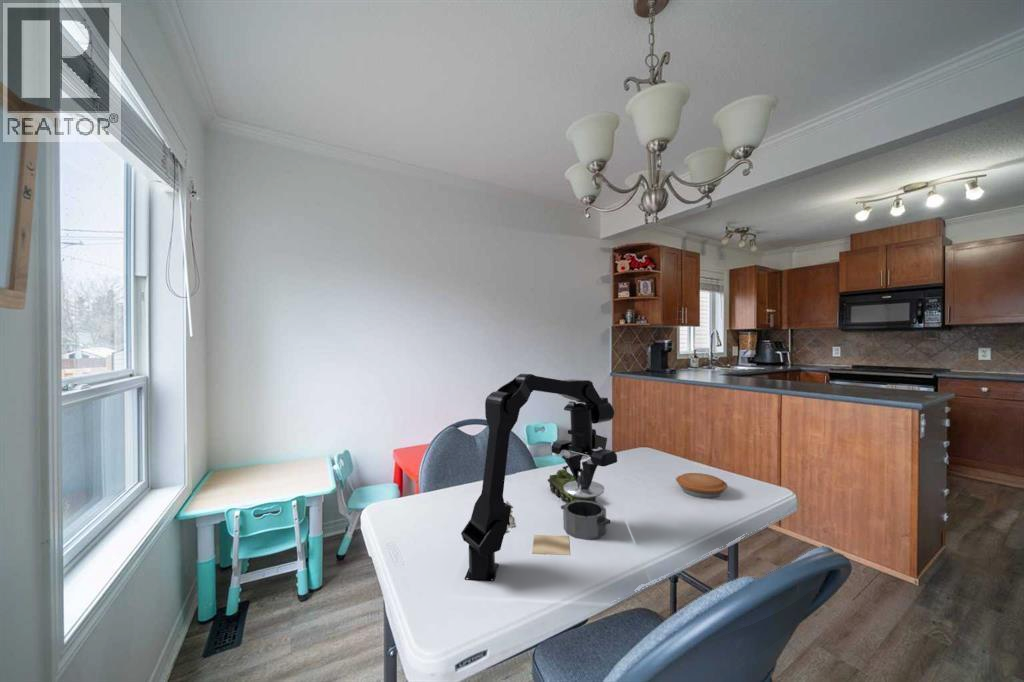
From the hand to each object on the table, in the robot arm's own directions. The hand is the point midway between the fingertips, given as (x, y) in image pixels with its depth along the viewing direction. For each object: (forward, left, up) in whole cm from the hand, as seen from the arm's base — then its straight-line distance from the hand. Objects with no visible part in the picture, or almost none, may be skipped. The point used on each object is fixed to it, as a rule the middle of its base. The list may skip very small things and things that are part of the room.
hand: (583, 484), depth 99 cm
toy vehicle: (+24, +3, -13) cm, 27 cm away
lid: (0, 0, -3) cm, 2 cm away
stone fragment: (+8, +25, -14) cm, 29 cm away
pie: (+30, -41, -13) cm, 53 cm away
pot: (0, 0, -13) cm, 13 cm away
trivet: (-8, +9, -13) cm, 18 cm away
